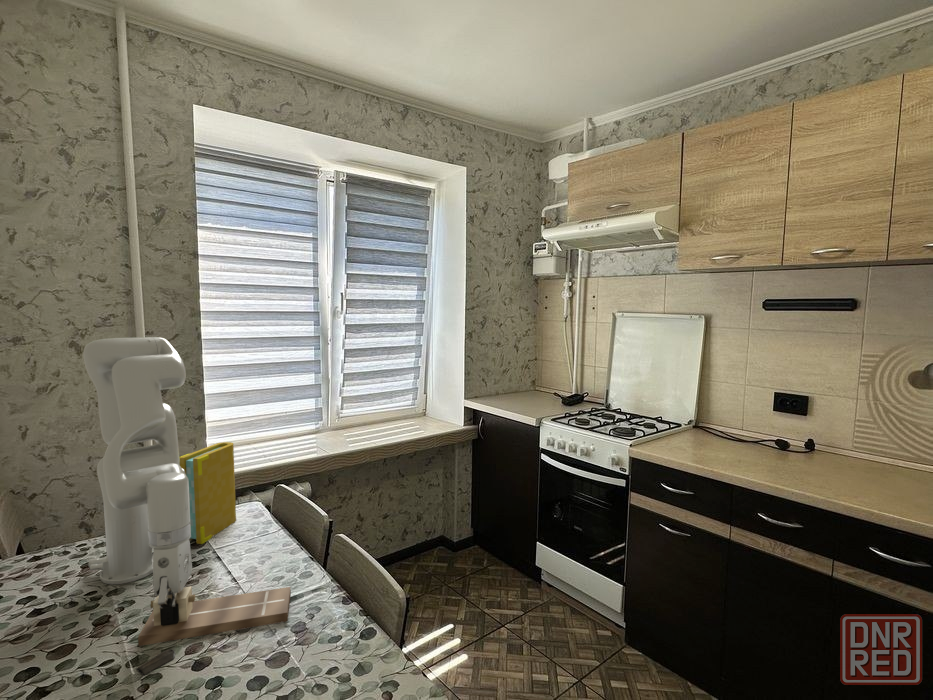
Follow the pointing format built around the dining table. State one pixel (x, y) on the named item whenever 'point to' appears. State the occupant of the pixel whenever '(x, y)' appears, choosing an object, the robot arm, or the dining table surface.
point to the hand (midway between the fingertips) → (173, 615)
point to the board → (223, 616)
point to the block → (156, 662)
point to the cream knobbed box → (183, 603)
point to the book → (210, 490)
